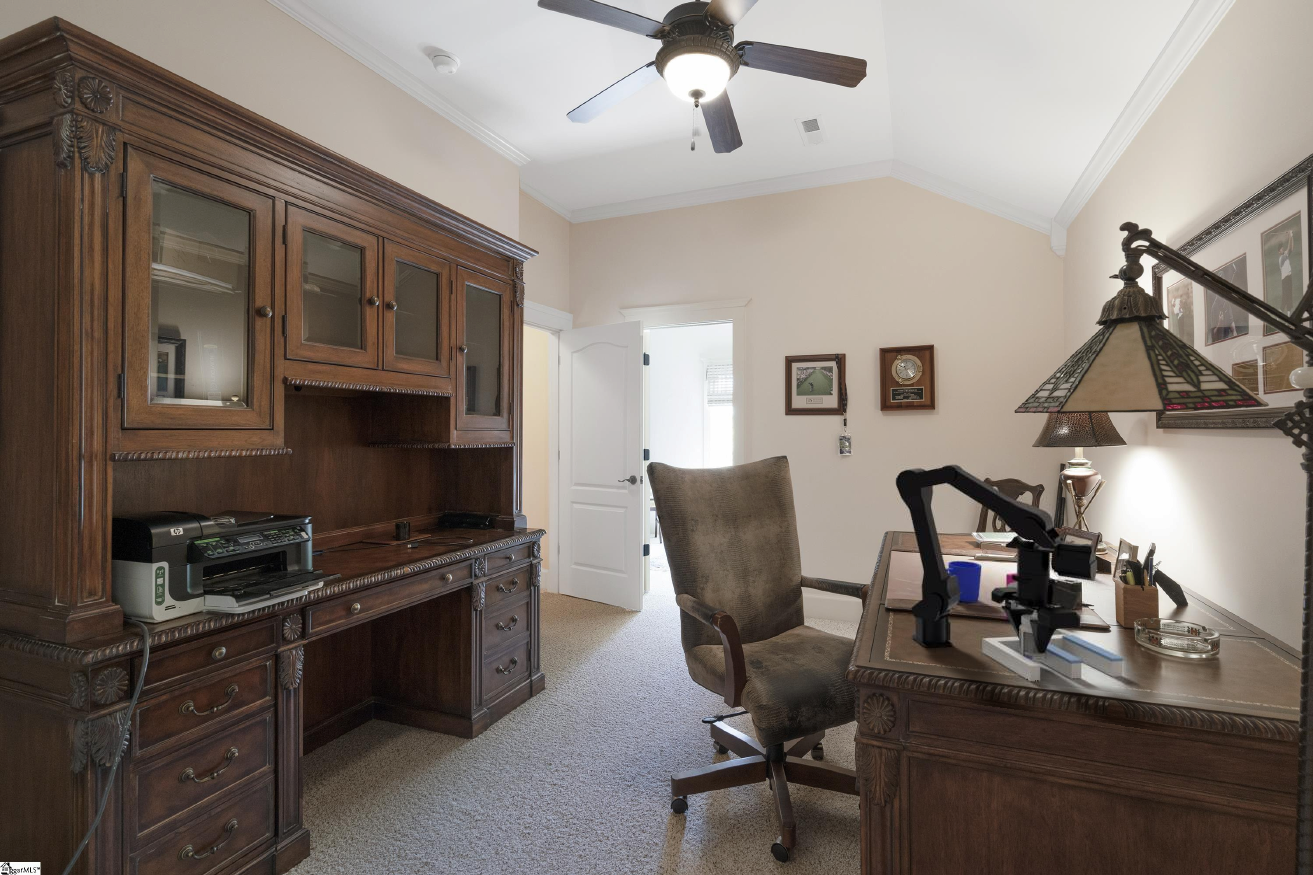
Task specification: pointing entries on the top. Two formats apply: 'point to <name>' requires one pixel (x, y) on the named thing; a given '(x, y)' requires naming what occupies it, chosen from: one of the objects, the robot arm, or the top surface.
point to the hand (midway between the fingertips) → (1032, 648)
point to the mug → (966, 579)
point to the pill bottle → (1029, 640)
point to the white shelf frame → (1053, 656)
